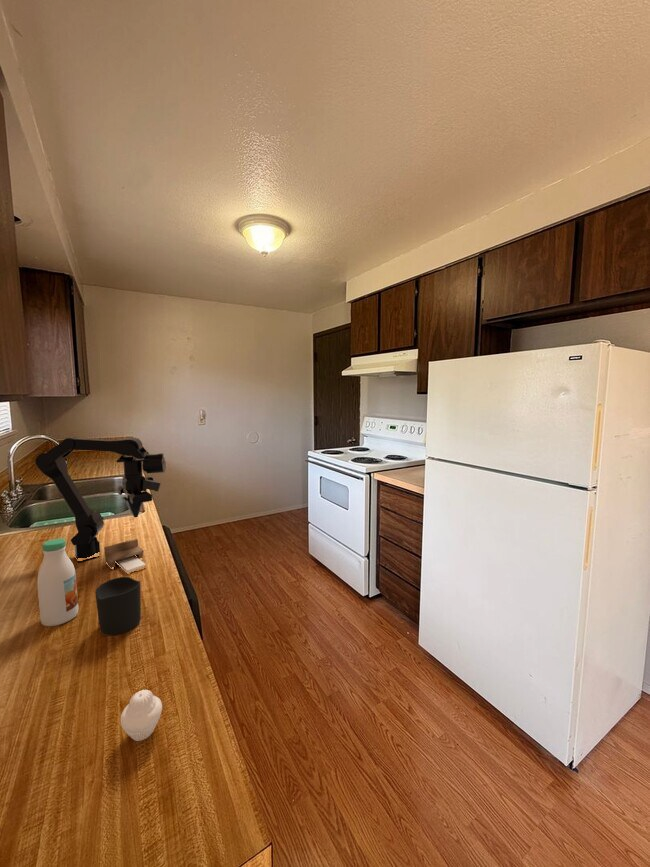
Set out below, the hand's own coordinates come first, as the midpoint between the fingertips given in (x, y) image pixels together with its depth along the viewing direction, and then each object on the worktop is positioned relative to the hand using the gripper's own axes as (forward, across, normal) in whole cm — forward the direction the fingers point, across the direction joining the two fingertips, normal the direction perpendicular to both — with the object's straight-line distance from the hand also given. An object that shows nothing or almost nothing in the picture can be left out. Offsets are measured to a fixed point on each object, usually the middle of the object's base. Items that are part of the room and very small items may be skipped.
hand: (135, 517), depth 128 cm
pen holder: (+13, -42, +16) cm, 47 cm away
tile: (+14, -10, +5) cm, 17 cm away
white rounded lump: (+13, -76, +22) cm, 80 cm away
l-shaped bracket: (+13, -7, +6) cm, 16 cm away
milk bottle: (+13, -28, +26) cm, 41 cm away
